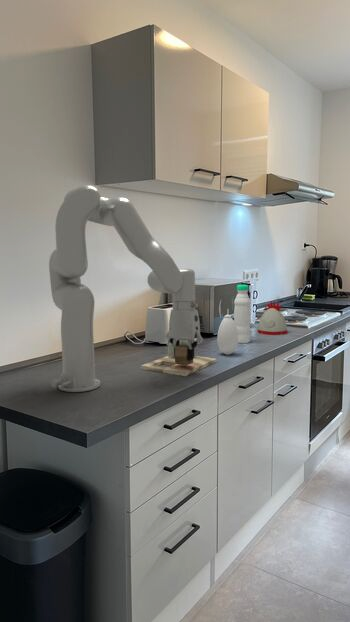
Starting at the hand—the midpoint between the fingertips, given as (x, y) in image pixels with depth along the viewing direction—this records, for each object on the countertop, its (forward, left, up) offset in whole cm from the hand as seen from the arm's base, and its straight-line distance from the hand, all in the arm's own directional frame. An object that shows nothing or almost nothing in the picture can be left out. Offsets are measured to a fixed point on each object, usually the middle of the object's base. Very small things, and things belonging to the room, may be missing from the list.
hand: (184, 358), depth 163 cm
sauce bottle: (+29, -2, -4) cm, 29 cm away
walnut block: (0, 0, -2) cm, 2 cm away
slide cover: (+12, +8, -3) cm, 15 cm away
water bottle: (+53, +3, -4) cm, 53 cm away
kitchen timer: (+81, 0, -5) cm, 81 cm away
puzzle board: (+5, +5, -4) cm, 8 cm away
